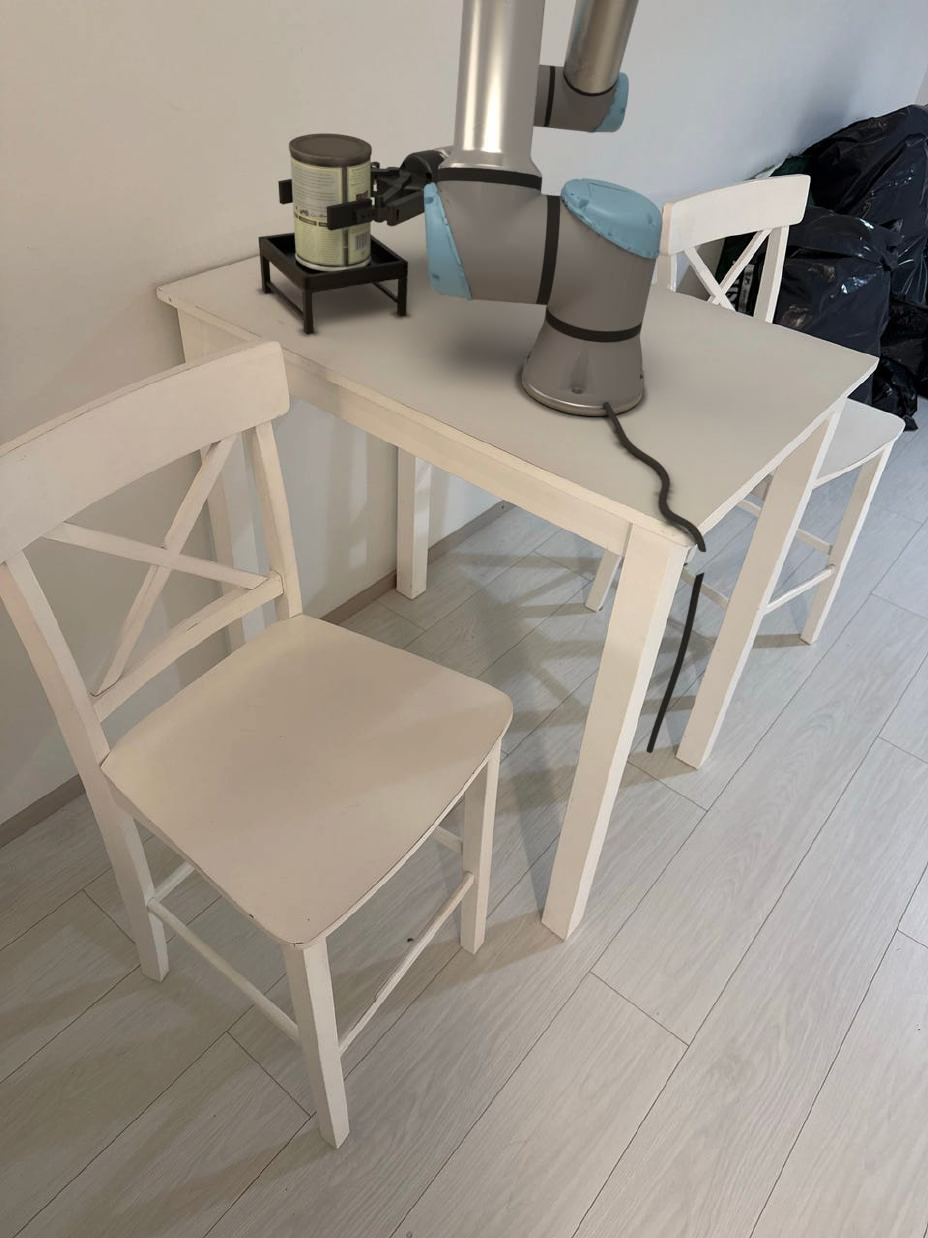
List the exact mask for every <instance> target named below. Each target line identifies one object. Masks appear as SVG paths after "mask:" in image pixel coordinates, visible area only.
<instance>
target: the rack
mask: <svg viewBox="0 0 928 1238" xmlns="http://www.w3.org/2000/svg"><path fill="white" fill-rule="evenodd" d="M370 235H371V236H370V237H371V243H370V247H371V250H370V255H371V261H370V262H369V263H368V264H367V265H366V266H363V267H357V268H350V269H344V270H337V271H331V272H327V271H319V270H315V269H311V268H308V267H306V266H304V265H302V264H300V263H299V262H298V261H297V259H296V257H295V254H296V246H295V231H294V232H287V233H280V234H279V233H278V234H271V235H264V236H258V250H259V251H258V252H259V261H260V262H259V264H260V276H261V290H262V292H263V293H264V294H270V293H272V291H273V292H274V294H275V295H276V296H277V297H278V298H280V300H282V301H283V303H285V304H286V306H288V307H289V308H290V309H291V310H292V311H293V312H294V313H295V314H296V315H297V316H298V317H299V318H300V319H301V320H302V322H303V323H302V324H303V332H304V333H305V334H306V335H310V334H314V309H313V308H314V306H313V294H315V293H322V292H327V291H333V290H340V289H345V288H352V287H357V286H358V287H359V286H364V285H373V286H374V287H375V288H376V289H377V290H379V291H380V292H381V293H383V294H384V295H385V296H387V297H388V298H389V299H390V300H391V301H392V302H394V303H395V304H396V315H397V316H398V317H399V318H401V317H403V318H404V317H407V304H408V303H407V302H408V300H407V299H408V277H409V276H408V274H409V261H408V260H406V259H404V258H403V257H402V256H401V255H400V254H398V253H396V252H395V251H394V250H393V249H391V248H390V247H388V246H387V245H386V244H384V243H383V242H382V241H381V240H380V239H379V238H377V237H375V236H374V235H373V234H371V233H370ZM270 263H271V264H272V266H274V267H275V268H276V269H277V270H278V271H279V272H280V273H282V275H283V276H285V277H286V278H287V279H288V280H289V281H290V282H291V283H292V284H293V285H295V286H296V287H297V289H299V290H300V291H301V297H302V299H301V300H302V309H301V308H300V307H299V306H298V305H297V304H296V303H294V301H292V300H291V299H290V298H289V296H287V295H286V294H285V293H284V292H283V291H282V290H281V289H280V288H279V287H278V286H277V285H276V284H275V283H274V282H272V281H271V280H272V279H271V265H270ZM396 280H397V293H396V294H397V295H396V294H395V293H394V292H393V291H391V290H390V289H388V287H386V286H385V285H384V284H383V283H382V282H388V281H396Z"/></svg>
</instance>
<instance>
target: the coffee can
mask: <svg viewBox="0 0 928 1238" xmlns="http://www.w3.org/2000/svg"><path fill="white" fill-rule="evenodd" d="M288 151H289V154H290V156H289V157H290V172H291V179H292V194H293V203H292V209H293V225H294V229H293V230H294V232H295V246H296V254H295V257H296V259H297V261H298V262H299V263H300V264H302V265H304V266H306V267H308V268H311V269H315V270H319V271H327V272H331V271H337V270H344V269H350V268H357V267H363V266H366V265H367V264H368V263H369V262H370V261H371V255H370V250H371V247H370V243H371V237H370V236H371V235H372V234H371V229H372V228H371V226H372V225H371V223H372V222H368V223H364V224H359V225H355V226H350V227H346V228H341V229H337V230H332V231H330V230H328V229H327V206H332V205H337V204H342V203H347V202H352V201H356V200H361V199H366V198H370V199H372V198H371V162H372V161H371V160H372V159H371V158H372V157H371V156H372V153H373V148H372V145H371V143H369V142H368V141H366V140H364V139H361V138H359V137H357V136H356V137H355V136H351V135H348V134H346V135H345V134H339V133H327V132H326V133H309V134H305V135H299V136H296V137H295V138H292V139H291V140H289V143H288ZM370 234H371V235H370Z"/></svg>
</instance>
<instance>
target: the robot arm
mask: <svg viewBox="0 0 928 1238" xmlns="http://www.w3.org/2000/svg"><path fill="white" fill-rule="evenodd" d="M639 2H640V0H575V2H574V3H575V4H574V8H573V14H572V18H571V19H572V20H571V24H570V30H569V36H568V41H567V46H566V50H565V56H564V62H563V66H561V65H560V66H558V65H549V64H540V62H541V50H542V39H543V30H544V29H543V28H544V19H545V7H546V0H462V10H461V11H462V13H461V27H460V28H461V29H460V40H459V41H460V44H459V58H458V72H457V87H456V101H455V103H456V104H455V114H454V115H455V117H454V118H455V119H454V131H453V144H451V145H447V146H440V147H435V148H433V149H426V150H420V151H415V152H411V153H409V154H408V155H406V157H404V159H403V161H402V163H401V164H400V166H399V167H398V166H387V167H386V168H381V163H380V162H378V161H371V199H370V198H366V199H361V200H356V201H352V202H347V203H342V204H337V205H332V206H327V229H328V230H330V231H332V230H337V229H341V228H346V227H350V226H355V225H359V224H364V223H368V222H371V223H372V222H375V223H377V224H380V223H381V224H382V223H384V222H386V225H387V227H390V228H391V227H392V228H393V227H395V226H398V225H400V224H403V223H405V222H407V221H409V220H412V219H413V218H415V217H418V216H420V215H422V214H424V227H425V228H424V229H425V243H426V256H427V257H426V258H427V270H428V278H429V283H430V285H431V287H432V289H433V291H435V292H436V293H437V294H439V295H441V296H444V297H453V298H460V299H466V300H467V301H473V300H475V301H476V300H478V301H487V302H489V301H490V302H499V303H501V302H502V303H514V304H527V305H540V306H541V305H542V306H545V314H544V319H543V323H542V325H541V327H540V329H539V331H538V333H537V336H536V338H535V341H534V344H533V346H532V349H531V350H530V351H529V352H528V354H527V355H526V357H525V359H524V361H523V362H524V363H523V366H522V370H521V371H522V372H521V384H522V387H523V389H524V390H525V391H526V393H527V394H528V395H529V396H531V397H532V398H533V399H534V400H536V401H537V402H539V403H541V404H543V405H545V406H547V407H549V408H551V409H555V410H557V411H561V412H564V413H568V414H573V415H579V416H588V417H589V416H592V417H602V416H607V417H609V419H610V421H611V423H612V425H613V427H614V429H615V431H616V433H617V435H618V438H619V439H620V442H622V444H623V446H625V448H627V450H628V451H630V453H632V454H633V455H634V456H635V457H637V458H639V459H640V460H642V461H643V462H645V463H646V464H648V465H649V466H651V468H654V469H655V470H656V472H658V474H659V475H660V477H661V481H662V484H661V489H660V492H659V498H658V503H659V508H660V510H661V511H662V513H663V514H664V516H665V517H666V518H667V519H669V520H670V521H672V522H673V523H675V524H677V525H678V526H681V527H682V528H684V529H686V530H687V531H688V532H690V534H691V535H692V536H693V538H694V541H695V542H696V545H697V549H698V551H700V552H701V553H706V552H707V546H706V542H705V539H704V536H703V534H702V533H701V532H700V529H698V527H697V526H696V525H695V524H694V523H692V522H691V521H689V520H688V519H686V518H684V517H682V516H680V515H679V514H677V513H675V512H674V511H672V510H671V508H670V507H669V505H668V502H667V498H668V497H667V496H668V493H669V489H670V483H671V480H670V475H669V474H668V472H667V470H666V468H665V467H664V466H663V465H662V464H661V463H660V462H659V461H658V460H656V459H655V458H653V457H652V456H650V455H649V454H647V453H645V452H644V451H643V450H641V449H640V448H638V447H637V446H636V445H635V444H634V443H633V442H631V440H630V439H629V438H628V436H627V435H626V433H625V430H624V428H623V425H622V424H621V422H620V420H619V419H618V416H617V414H621V413H624V412H627V411H629V410H631V409H634V407H635V406H637V405H638V403H640V401H641V399H642V395H643V392H644V387H645V373H644V372H645V371H644V369H643V353H642V352H643V351H642V344H641V331H642V327H643V322H644V319H645V314H646V310H647V309H646V308H647V304H648V299H649V295H650V291H651V286H652V281H653V277H654V273H655V267H656V263H657V259H658V258H659V256H660V252H661V251H660V250H661V249H660V246H661V239H662V232H663V227H664V226H663V224H664V223H663V222H664V221H663V220H664V219H663V215H662V213H661V210H660V209H659V207H658V206H657V205H656V203H654V202H653V201H652V200H651V199H649V198H648V197H646V196H644V195H643V194H641V193H639V192H638V191H636V190H632V189H630V188H628V187H625V186H623V185H620V184H616V183H613V182H609V181H606V180H600V179H596V178H595V179H594V178H587V177H586V178H581V179H579V178H572V179H569V180H568V181H566V182H565V183H564V185H563V187H562V188H561V190H560V195H555V194H546V193H545V194H544V193H542V187H543V173H542V172H541V171H540V170H539V168H538V166H537V165H536V163H534V161H533V159H532V146H533V145H532V144H533V137H534V127H535V128H548V129H555V130H556V129H557V130H564V131H565V130H566V131H574V132H584V133H588V134H594V133H616V132H618V131H619V130H620V129H621V127H622V125H623V124H624V120H625V117H626V112H627V111H626V110H627V107H628V101H629V90H630V81H629V77H628V75H627V74H626V73H625V72H622V71H621V68H622V64H623V62H624V57H625V53H626V49H627V46H628V42H629V38H630V35H631V31H632V27H633V24H634V20H635V16H636V12H637V9H638V5H639ZM277 182H278V183H277V184H278V201H279V204H281V205H288V204H293V194H292V178H288V179H282V180H278V181H277ZM375 188H376V190H375ZM372 198H374V201H373V199H372ZM704 578H705V571H704V572H701V573H699V574H696V575H695V577H694V581H693V585H692V590H691V594H690V599H689V605H688V611H687V615H686V619H685V624H684V628H683V633H682V636H681V637H682V638H681V640H680V645H679V648H678V652H677V655H676V659H675V661H674V666H673V669H672V671H671V675H670V678H669V681H668V684H667V686H666V689H665V692H664V694H663V697H662V701H661V704H660V706H659V709H658V713H657V715H656V718H655V721H654V723H653V727H652V730H651V733H650V736H649V740H648V742H647V746H646V750H645V751H646V752H647V753H648V754H652V753H653V752H654V749H655V746H656V743H657V739H658V736H659V732H660V730H661V727H662V725H663V722H664V719H665V715H666V713H667V710H668V707H669V704H670V701H671V699H672V696H673V693H674V690H675V688H676V685H677V681H678V679H679V676H680V673H681V670H682V667H683V663H684V660H685V657H686V654H687V650H688V646H689V643H690V638H691V635H692V631H693V627H694V622H695V617H696V612H697V607H698V603H699V597H700V593H701V589H702V585H703V581H704Z"/></svg>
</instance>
